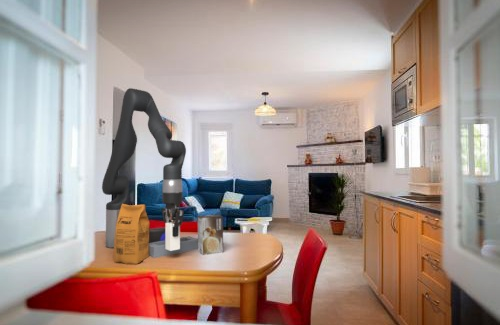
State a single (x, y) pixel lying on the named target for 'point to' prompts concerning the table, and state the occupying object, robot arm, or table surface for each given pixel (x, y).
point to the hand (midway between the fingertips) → (172, 235)
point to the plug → (171, 238)
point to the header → (159, 250)
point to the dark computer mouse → (156, 234)
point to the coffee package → (131, 235)
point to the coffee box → (210, 234)
